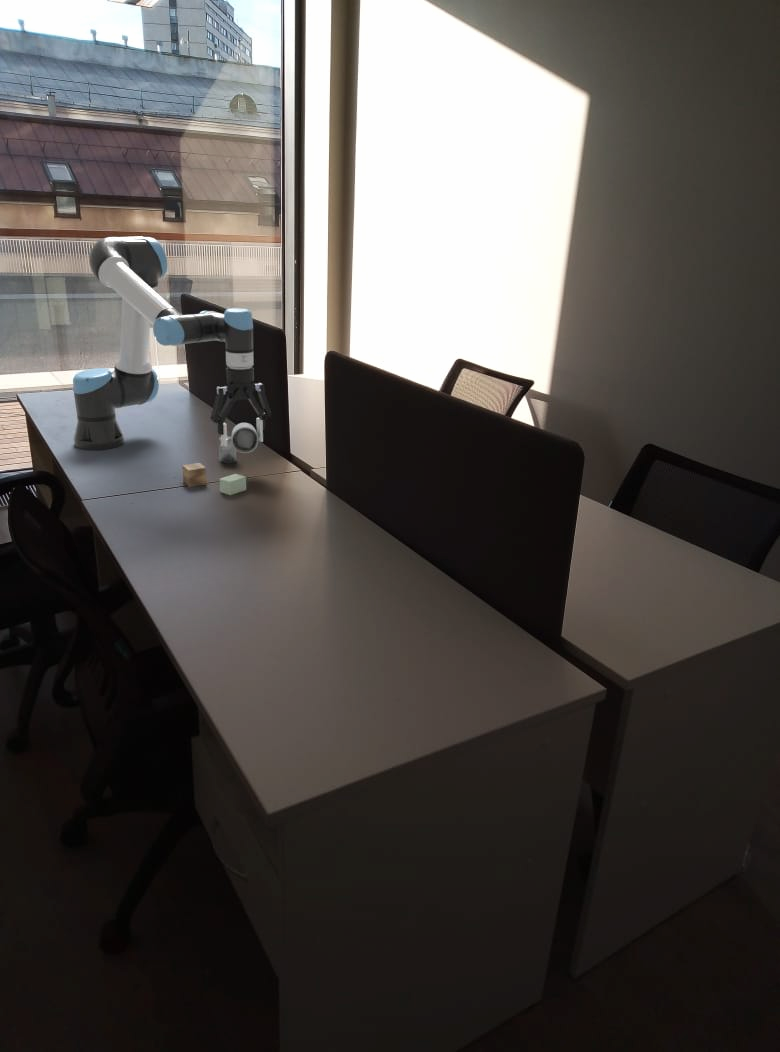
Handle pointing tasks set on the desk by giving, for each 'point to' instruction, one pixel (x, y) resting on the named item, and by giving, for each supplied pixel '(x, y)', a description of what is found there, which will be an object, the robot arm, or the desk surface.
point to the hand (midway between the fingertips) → (242, 442)
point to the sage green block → (232, 484)
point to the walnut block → (194, 474)
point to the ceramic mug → (242, 438)
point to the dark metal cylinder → (227, 453)
